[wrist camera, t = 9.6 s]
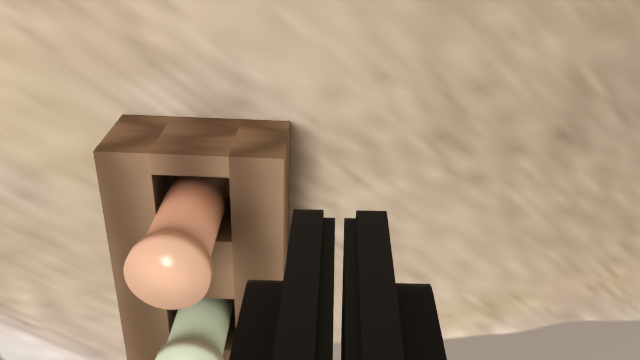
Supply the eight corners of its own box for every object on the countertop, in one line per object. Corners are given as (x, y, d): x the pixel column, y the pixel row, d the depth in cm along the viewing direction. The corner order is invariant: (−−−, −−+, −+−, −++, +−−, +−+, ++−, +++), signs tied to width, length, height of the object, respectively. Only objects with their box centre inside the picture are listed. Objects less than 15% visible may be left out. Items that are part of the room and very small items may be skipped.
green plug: (242, 255, 48) (222, 351, 39) (244, 301, 50) (224, 402, 41) (183, 253, 48) (147, 348, 39) (187, 299, 50) (154, 400, 41)
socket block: (289, 121, 43) (283, 158, 37) (287, 313, 51) (282, 366, 46) (122, 114, 43) (93, 151, 37) (148, 308, 51) (127, 360, 46)
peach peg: (235, 155, 41) (207, 242, 32) (237, 214, 43) (212, 311, 34) (165, 152, 41) (118, 239, 32) (171, 212, 43) (128, 308, 34)
